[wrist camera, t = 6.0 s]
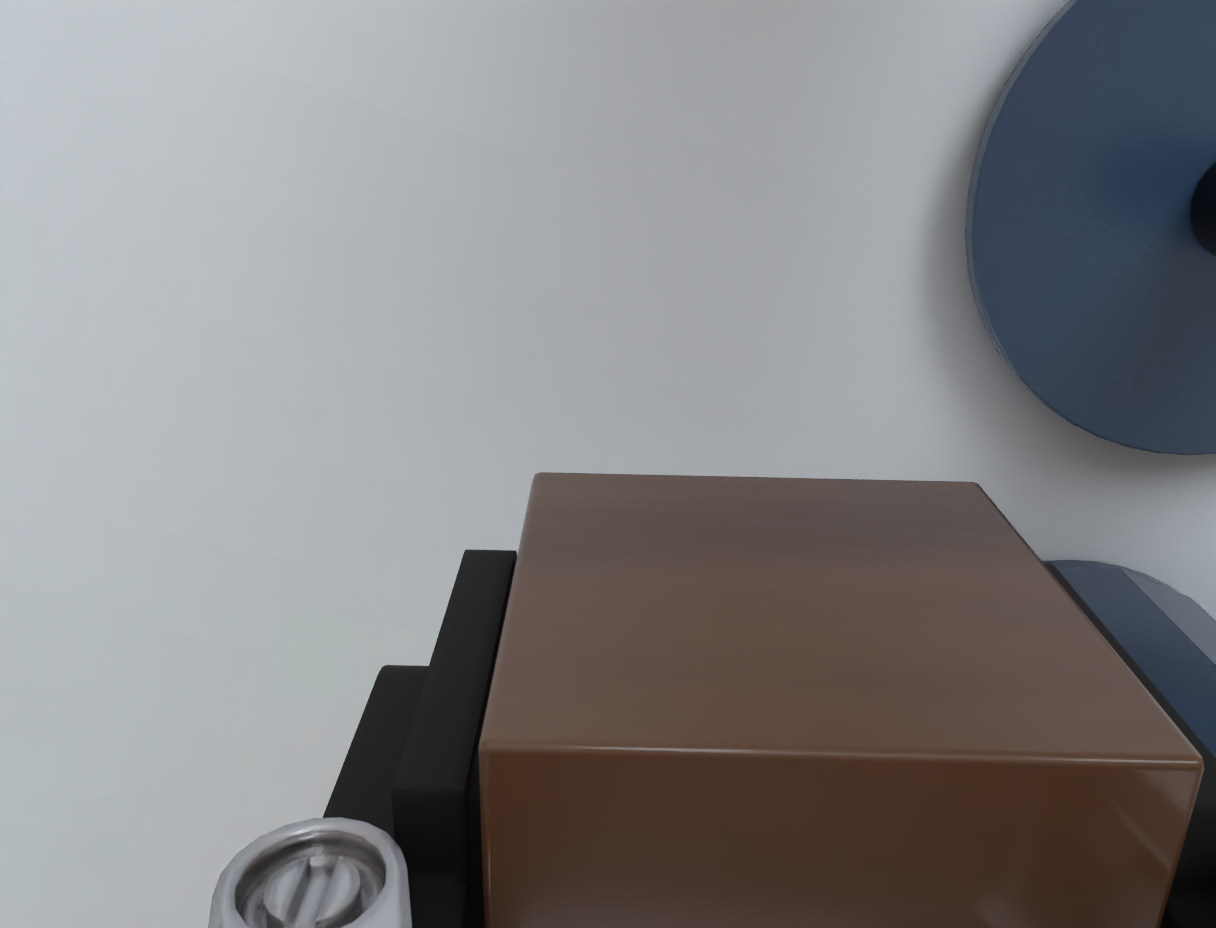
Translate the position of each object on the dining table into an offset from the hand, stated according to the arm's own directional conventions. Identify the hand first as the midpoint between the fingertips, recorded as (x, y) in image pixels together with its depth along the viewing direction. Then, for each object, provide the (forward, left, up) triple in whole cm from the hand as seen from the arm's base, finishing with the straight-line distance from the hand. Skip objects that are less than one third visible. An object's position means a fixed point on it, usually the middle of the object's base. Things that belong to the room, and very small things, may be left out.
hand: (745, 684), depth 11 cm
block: (0, 0, 0) cm, 0 cm away
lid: (-3, +13, -16) cm, 21 cm away
